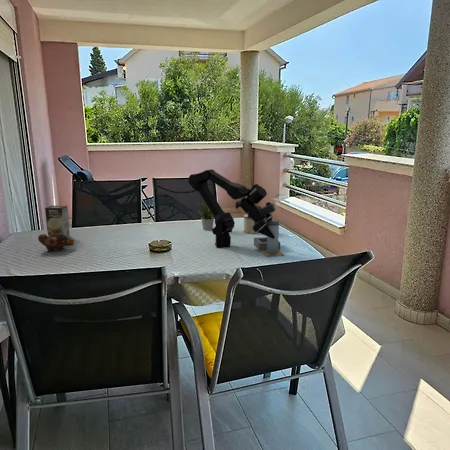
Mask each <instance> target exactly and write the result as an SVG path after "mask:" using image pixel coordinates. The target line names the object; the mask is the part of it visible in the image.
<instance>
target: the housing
mask: <svg viewBox="0 0 450 450" xmlns="http://www.w3.org/2000/svg"><path fill="white" fill-rule="evenodd" d="M253 246H254V247H255V248H256V249H257V250H258V252H262V250H267V236H264V237H263V236H261V237H253ZM278 249H279V250H280V251H281V242H280V241H279V240H278Z"/></svg>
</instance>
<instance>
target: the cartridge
mask: <svg viewBox="0 0 450 450" xmlns="http://www.w3.org/2000/svg"><path fill="white" fill-rule="evenodd" d="M267 223H268V227H269V229H270V230H271V232H272V233H273V234H274V236H275V238H274V239H273V238H270V237H268V236H266V237H267V253H269V254H277V253H278V241H279V232H280V221H279V220H275V219H274V220H273V219H272V220H270V221H267Z"/></svg>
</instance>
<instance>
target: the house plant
mask: <svg viewBox="0 0 450 450" xmlns="http://www.w3.org/2000/svg"><path fill="white" fill-rule="evenodd" d="M195 203H196V204H197V205H196V207H198V208H199V209H200V210H198V212H197V213H199V216H203V217H201V218H200V220H201V226H202V230H204V231H212V229H213V228H214V223H215V217H214V215H213V214H212V212H211V211H210V209H209V207H208V206H206V203H205V202H201V204H200V203H199V202H197V201H196V202H195Z"/></svg>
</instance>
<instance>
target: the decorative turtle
mask: <svg viewBox="0 0 450 450" xmlns="http://www.w3.org/2000/svg"><path fill="white" fill-rule="evenodd" d="M38 242H39V243H40V244H41V245H42V246H45V247H46V249H47V251H48V252H52V251H54V249H55V250H56V251H59V252H62V250H63V248H64V247H69V246H70V247H71V246H73V245H74V244H75V240H74V239H73V238H72V239H71V238H70V237H68V236H66V235H64V234H61V233H54V234H51V235H50V236H49V237H48V234H45V233H41V234H39V235H38Z"/></svg>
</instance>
